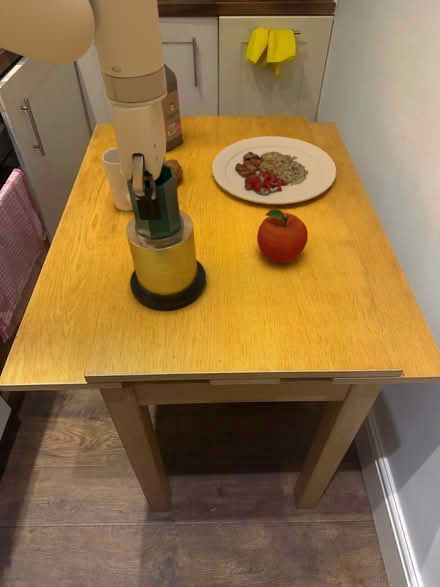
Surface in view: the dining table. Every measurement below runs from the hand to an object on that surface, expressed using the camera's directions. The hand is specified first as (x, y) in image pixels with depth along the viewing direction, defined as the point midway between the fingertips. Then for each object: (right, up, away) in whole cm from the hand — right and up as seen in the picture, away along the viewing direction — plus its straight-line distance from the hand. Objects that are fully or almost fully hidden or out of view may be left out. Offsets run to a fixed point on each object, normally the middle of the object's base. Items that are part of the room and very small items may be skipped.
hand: (155, 201), depth 63 cm
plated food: (+23, +15, +38) cm, 47 cm away
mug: (-10, +5, +30) cm, 32 cm away
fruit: (+22, -6, +18) cm, 29 cm away
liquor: (-5, +27, +49) cm, 56 cm away
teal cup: (0, -3, +3) cm, 4 cm away
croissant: (-2, +13, +36) cm, 39 cm away
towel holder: (0, -12, +14) cm, 18 cm away
